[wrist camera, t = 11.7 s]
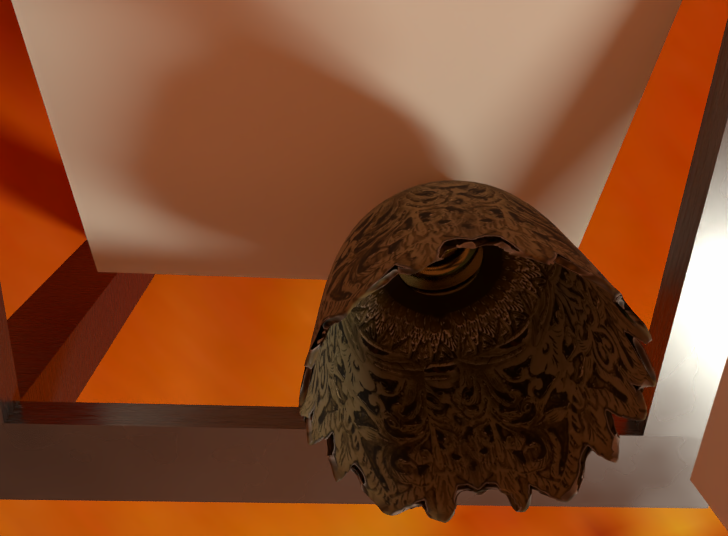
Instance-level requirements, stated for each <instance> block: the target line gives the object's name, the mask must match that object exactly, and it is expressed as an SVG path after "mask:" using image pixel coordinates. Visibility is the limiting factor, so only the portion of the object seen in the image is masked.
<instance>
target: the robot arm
mask: <svg viewBox="0 0 728 536" xmlns="http://www.w3.org/2000/svg"><path fill="white" fill-rule="evenodd" d="M690 481H691V482H692V483H693V485H694V486H695V487H696V489H697V490H698V492H699V493H700V494H701V496H702V497H703V498H704V500H705V501H706V502H707V504H708V505H709V506H710V508H711V509H712V510H713V512H714V513H715V514H716V516H717V517H718V518H719V520H720V521H721V522H722V524H723V525H724V526H725V528H726V529H727V530H728V356H727V359H726V363H725V366H724V369H723V372H722V376H721V379H720V382H719V386H718V389H717V392H716V395H715V399H714V402H713V405H712V409H711V412H710V415H709V418H708V422H707V425H706V428H705V432H704V435H703V438H702V441H701V445H700V448H699V451H698V455H697V458H696V461H695V464H694V468H693V471H692V474H691V478H690Z"/></svg>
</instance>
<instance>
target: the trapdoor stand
mask: <svg viewBox="0 0 728 536" xmlns="http://www.w3.org/2000/svg"><path fill="white" fill-rule="evenodd" d="M154 275H155V274H146V273H117V272H98V271H97V268H96V265H95V262H94V259H93V256H92V253H91V249H90V246H89V243H88V240H86V241H85V242H84V243H83V244H82V245H81V246H80V247H79V248H78V249H77V250H76V251H75V252H74V253H73V254H72V255H71V256H70V257H69V258H68V259H67V260H66V261H65V262H64V263H63V264H62V265H61V266H60V267H59V268H58V269H57V270H56V271H55V272H54V273H53V274H52V275H51V276H50V277H49V278H48V279H47V280H46V281H45V282H44V283H43V284H42V285H41V286H40V287H39V288H38V289H37V290H36V291H35V292H34V293H33V294H32V295H31V296H30V297H29V299H28V300H27V301H26V302H25V303H24V304H23V305H22V306H21V307H20V308H19V309H18V310H17V311H16V312H15V313H14V314H13V315H12V316H11V317H10V318H9V319H8V320H7V319H6V313H5V307H4V301H3V295H2V290H1V284H0V499H16V500H95V501H175V502H254V503H333V504H375V503H374V502H373V501H372V500H371V499H370V498H369V497H368V496H367V495H366V494H365V493H364V492H363V491H362V489H361V485H360V481H359V480H358V478H357V476H356V475H355V474H354V473H353V472H352V471H351V469H350V471H349V472H348V473H347V474H346V475H345V476H344V478H343V479H341V480H340V481H338V482H336V481H335V478H334V476H333V473H332V469H331V465H330V462H329V459H328V457H327V450H328V447H327V439H326V440H325V438H323V439H322V440H321V441H320V442H317V443H316V444H314V445H309V444H308V442H307V428H306V422H305V421H304V416H302V417H301V415H300V413H299V407H267V406H221V405H174V404H128V403H82V402H75V401H76V400H77V398H78V397H79V395H80V393H81V392H82V390H83V389H84V387H85V385H86V384H87V382H88V381H89V379H90V377H91V376H92V374H93V373H94V371H95V369H96V368H97V366H98V365H99V363H100V361H101V360H102V358H103V357H104V355H105V354H106V352H107V350H108V349H109V347H110V346H111V344H112V342H113V341H114V339H115V338H116V336H117V334H118V333H119V331H120V330H121V328H122V326H123V325H124V323H125V322H126V320H127V318H128V317H129V315H130V314H131V312H132V310H133V309H134V307H135V306H136V304H137V302H138V301H139V299H140V298H141V296H142V294H143V293H144V291H145V290H146V288H147V287H148V285H149V283H150V282H151V280H152V279H153V277H154ZM649 333H650V335H651V338H652V341H650V342H649V343H647V344H646V345H645V344H644V343H643V342H642V341H640V340H639V341H640V342H641V344H642V345H643V347H644V349H645V351H646V353H647V355H648V357H649V359H650V361H651V363H652V366H653V369H654V372H655V375H656V386H655V387H643V388H644V391H643V392H642V395H643V398H644V401H645V403H646V406H647V416H646V419H645V420H643V421H635V420H631V419H626V418H623V417H621V418H620V417H618V416H616V415H614V414H613V413H612V416H613V419H614V424H615V427H616V430H617V432H618V435H619V436H620V442H619V459H618V461H617V463H613V462H611V461H608V460H606V459H604V458H603V457H601V456H597V454H596V453H595V452H593V451H592V452H591V453H590V455H589V456H588V457H587V459H586V463H585V473H584V478H583V480H582V483H581V486H580V488H579V491H578V493H577V494H576V495H575V496H574V497H573V498H572V499H571V500H570V501H569V502H558V501H556V500H555V499H553V498H550V497H548V496H545V495H543V494H540V493H539V491H536V490H534V489H532V499H531V504H530V506H571V507H650V508H708V506H709V505H708V504H707V502H706V501H705V500H704V498H703V497H702V496H701V494H700V493H699V492H698V490H697V489H696V487H695V486H694V485H693V483H692V482H691V481H690V478H691V474H692V471H693V468H694V464H695V461H696V458H697V455H698V451H699V448H700V445H701V441H702V438H703V435H704V432H705V428H706V425H707V422H708V418H709V415H710V412H711V409H712V405H713V402H714V399H715V395H716V392H717V389H718V386H719V382H720V379H721V376H722V372H723V369H724V366H725V363H726V359H727V356H728V20H727V23H726V27H725V31H724V35H723V39H722V43H721V47H720V51H719V55H718V59H717V63H716V67H715V71H714V75H713V79H712V83H711V87H710V91H709V95H708V99H707V103H706V107H705V111H704V115H703V119H702V123H701V127H700V131H699V135H698V139H697V143H696V147H695V151H694V155H693V159H692V163H691V166H690V170H689V174H688V178H687V182H686V186H685V190H684V194H683V198H682V202H681V206H680V210H679V214H678V218H677V222H676V226H675V230H674V234H673V238H672V242H671V246H670V250H669V254H668V258H667V262H666V266H665V270H664V274H663V278H662V282H661V286H660V290H659V294H658V298H657V302H656V306H655V309H654V313H653V317H652V321H651V325H650V329H649ZM592 450H593V449H592ZM466 490H469V489H466ZM460 491H463V490H458V491H457V493H456V496H457V494H458V493H459V492H460ZM455 498H456V497H455ZM456 501H457V503H456V505H492V506H511V504H510V502H509V500H508V498H507V496H506V495H505V494H502V493H501V492H500V491H499V490H498V488H491V489H489V490H488V491H486V492H485V493H483V494H482V495H477V494H475V493H474V492H472V491H463V492H460V494H459V495H458V496H457V500H456Z"/></svg>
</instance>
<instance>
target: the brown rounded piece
mask: <svg viewBox="0 0 728 536" xmlns="http://www.w3.org/2000/svg"><path fill="white" fill-rule="evenodd" d="M639 340H640V341H642V342H643V343H644V344H647V343H649V342H650V341H652V338H651V335H650V333H649V331H648V329H647V327H646V325H645V324H644V323H643V322H642V321H641V319H640V318H639V317H638V316H637V315H636V314H635V313H634V312H633V311H632V310H631V308H630V307H629V306H628V305H627V303H626V302H625V301H624V299H623V295H622V294H621V293H620V292H619V291H618V290H617V289H616V288H614V287H613V286H612V285H611V284H610V282H609V281H608V280H607V279H606V278H605V277H604V276H603V275H602V274H601V273H600V272H599V270H598V269H597V268H596V267H595V266H594V265H593V264H592V263H591V262H590V261H589V260H588V259H587V258H586V257H585V256H584V254H583V253H582V252H581V251H580V250H579V249H578V248H577V247H576V246H575V245H574V244H573V243H572V242H571V241H570V240H569V239H568V238H567V237H566V236H565V235H564V234H563V233H562V232H561V231H560V230H559V229H558V228H557V227H556V226H555V225H554V224H553V223H552V222H551V221H550V220H549V219H548V218H546V217H545V216H544V215H543V214H541V213H540V212H539V211H537V210H536V209H535V208H534V207H532V206H531V205H530V204H528V203H527V202H525V201H523V200H522V199H520V198H518V197H516V196H515V195H513V194H511V193H509V192H506V191H504V190H502V189H500V188H497V187H493V186H490V185H487V184H482V183H477V182H471V181H459V180H447V181H436V182H430V183H425V184H421V185H417V186H414V187H411V188H408V189H406V190H403V191H401V192H399V193H397V194H395V195H393V196H391V197H390V198H388V199H386V200H384V201H383V202H382V203H380V204H379V205H377V206H376V207H375V208H373V209H372V210H371V211H370V212H369V213H367V214H366V215H365V216H364V217H363V218H362V219H361V220H360V221H359V222H358V224H357V225H356V226H355V227H354V228H353V230H352V231H351V232H350V234H349V235H348V237H347V238H346V240H345V241H344V243H343V245H342V246H341V248H340V250H339V252H338V254H337V256H336V258H335V261H334V263H333V265H332V268H331V271H330V274H329V276H328V279H327V282H326V285H325V289H324V292H323V296H322V300H321V304H320V308H319V312H318V316H317V320H316V324H315V328H314V332H313V336H312V341H311V345H310V349H309V352H308V355H307V358H306V361H305V365H304V366H305V370H304V375H303V380H302V384H301V390H300V397H299V413H300V415H301V417H302V416H304V421H305V422H306V428H307V442H308V444H309V445H314V444H316V443H317V442H320V441H321V440H322V439H323V438H325V440H326V439H327V447H328V450H327V457H328V459H329V462H330V465H331V469H332V473H333V476H334V478H335V481H336V482H338V481H340V480H341V479H343V478H344V476H345V475H346V474H347V473H348V472H349V471H350V469H351V471H352V472H353V473H354V474H355V475H356V476H357V478H358V480H359V481H360V485H361V489H362V491H363V492H364V493H365V494H366V495H367V496H368V497H369V498H370V499H371V500H372V501H373V502H374V503H375V504H376V505H377V506H378V507H379V508H380V510H381V511H382V512H383V513H385V514H387V515H397V514H400V513H401V512H403V511H405V510H407V509H413V508H415V507H420V506H422V507H423V508H424V510H425V512H426V514H427V515H428V517H430V518H432V519H435V520H438V521H441V522H444V523H446V522H448V521H449V520H450V519H451V518H452V516H453V515H454V512H455V509H456V506H457V505H456V503H457V501H456V500H457V496H458V495H459V494H460V492H463V491H472V492H474V493H475V494H477V495H482V494H483V493H485V492H486V491H488V490H489V489H491V488H498V490H499V491H500V492H501V493H502V494H505V495H506V496H507V498H508V500H509V502H510V504H511V506H512V507H513V509H514V510H515V511H517V512H525V511H526V510H527V509H528V507H529V506H530V504H531V499H532V489H534V490H536V491H539V493H540V494H543V495H545V496H548V497H550V498H553V499H555V500H556V501H558V502H569V501H570V500H571V499H572V498H573V497H574V496H575V495H576V494H577V493H578V491H579V488H580V486H581V483H582V480H583V478H584V473H585V463H586V459H587V457H588V456H589V455H590V453H591V452H592V451H593V452H595V453H596V454H597V456H601V457H603V458H604V459H606V460H608V461H611V462H613V463H617V461H618V459H619V442H620V436H619V435H618V432H617V430H616V427H615V424H614V419H613V416H612V413H613V414H614V415H616V416H618V417H620V418H621V417H623V418H626V419H631V420H635V421H643V420H645V419H646V416H647V406H646V403H645V401H644V398H643V395H642V392H643V391H644V388H643V387H655V386H656V375H655V372H654V369H653V366H652V363H651V361H650V359H649V357H648V355H647V353H646V351H645V349H644V347H643V345H642V344H641V342H640V341H639ZM592 449H593V450H592ZM466 489H469V490H466ZM458 490H463V491H460V492H459V493H458V494H457V496H456V493H457V491H458ZM455 497H456V498H455Z"/></svg>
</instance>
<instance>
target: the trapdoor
mask: <svg viewBox="0 0 728 536" xmlns="http://www.w3.org/2000/svg"><path fill="white" fill-rule="evenodd" d="M11 1H12V4H13V7H14V10H15V13H16V17H17V20H18V23H19V26H20V29H21V32H22V35H23V39H24V42H25V45H26V48H27V51H28V54H29V57H30V61H31V64H32V67H33V70H34V73H35V76H36V80H37V83H38V86H39V89H40V92H41V95H42V98H43V102H44V105H45V108H46V111H47V114H48V117H49V120H50V124H51V127H52V130H53V133H54V136H55V139H56V142H57V146H58V149H59V152H60V155H61V158H62V161H63V164H64V168H65V171H66V174H67V177H68V180H69V183H70V186H71V190H72V193H73V196H74V199H75V202H76V205H77V208H78V212H79V215H80V218H81V221H82V224H83V227H84V231H85V234H86V237H87V240H88V243H89V246H90V249H91V253H92V256H93V259H94V262H95V265H96V268H97V271H98V272H117V273H146V274H176V275H206V276H235V277H265V278H294V279H324V280H327V279H328V276H329V274H330V271H331V268H332V265H333V263H334V261H335V258H336V256H337V254H338V252H339V250H340V248H341V246H342V245H343V243H344V241H345V240H346V238H347V237H348V235H349V234H350V232H351V231H352V230H353V228H354V227H355V226H356V225H357V224H358V222H359V221H360V220H361V219H362V218H363V217H364V216H365V215H366V214H367V213H369V212H370V211H371V210H372V209H373V208H375V207H376V206H377V205H379V204H380V203H382V202H383V201H384V200H386V199H388V198H390V197H391V196H393V195H395V194H397V193H399V192H401V191H403V190H406V189H408V188H411V187H414V186H417V185H421V184H425V183H430V182H436V181H447V180H459V181H471V182H477V183H482V184H487V185H490V186H493V187H497V188H500V189H502V190H504V191H506V192H509V193H511V194H513V195H515V196H516V197H518V198H520V199H522V200H523V201H525V202H527V203H528V204H530V205H531V206H532V207H534V208H535V209H536V210H537V211H539V212H540V213H541V214H543V215H544V216H545V217H546V218H548V219H549V220H550V221H551V222H552V223H553V224H554V225H555V226H556V227H557V228H558V229H559V230H560V231H561V232H562V233H563V234H564V235H565V236H566V237H567V238H568V239H569V240H570V241H571V242H572V243H573V244H574V245H575V246H576V247H577V248H578V247H579V245H580V242H581V240H582V238H583V235H584V233H585V231H586V228H587V226H588V223H589V221H590V219H591V216H592V214H593V211H594V209H595V207H596V204H597V202H598V200H599V197H600V195H601V192H602V190H603V188H604V185H605V183H606V181H607V178H608V176H609V173H610V171H611V169H612V166H613V164H614V161H615V159H616V157H617V154H618V152H619V150H620V147H621V145H622V142H623V140H624V138H625V135H626V133H627V130H628V128H629V126H630V123H631V121H632V119H633V116H634V114H635V111H636V109H637V107H638V104H639V102H640V99H641V97H642V95H643V92H644V90H645V88H646V85H647V83H648V80H649V78H650V76H651V73H652V71H653V69H654V66H655V64H656V61H657V59H658V57H659V54H660V52H661V49H662V47H663V45H664V42H665V40H666V38H667V35H668V33H669V30H670V28H671V26H672V23H673V21H674V18H675V16H676V14H677V11H678V9H679V7H680V4H681V2H682V0H11Z"/></svg>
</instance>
